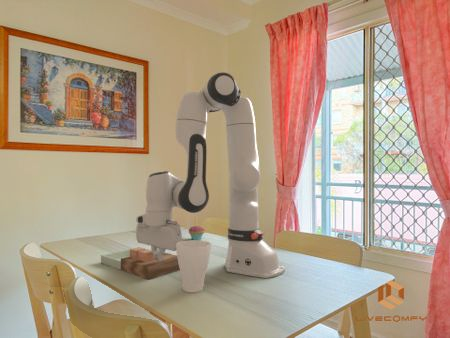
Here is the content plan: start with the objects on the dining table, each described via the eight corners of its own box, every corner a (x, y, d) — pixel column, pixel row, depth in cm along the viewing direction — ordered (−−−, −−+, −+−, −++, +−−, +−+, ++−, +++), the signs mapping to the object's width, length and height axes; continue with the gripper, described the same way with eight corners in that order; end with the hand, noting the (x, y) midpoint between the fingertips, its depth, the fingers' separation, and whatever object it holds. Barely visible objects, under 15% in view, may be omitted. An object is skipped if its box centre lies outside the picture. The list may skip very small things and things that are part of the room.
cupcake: (187, 238, 170) (187, 216, 170) (202, 237, 172) (202, 215, 172) (190, 241, 161) (190, 218, 162) (206, 240, 164) (206, 217, 164)
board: (184, 268, 116) (184, 257, 116) (149, 279, 103) (149, 267, 103) (156, 260, 125) (156, 250, 126) (120, 269, 113) (120, 258, 113)
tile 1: (145, 257, 115) (145, 248, 115) (136, 259, 112) (136, 250, 112) (138, 255, 118) (139, 247, 118) (129, 257, 115) (129, 249, 115)
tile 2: (154, 259, 112) (154, 251, 112) (145, 261, 109) (145, 253, 109) (147, 257, 115) (147, 249, 115) (138, 259, 112) (138, 251, 112)
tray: (156, 260, 125) (156, 253, 126) (120, 269, 113) (120, 261, 113) (136, 255, 134) (136, 248, 134) (100, 263, 121) (101, 255, 121)
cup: (217, 288, 95) (218, 243, 95) (191, 298, 87) (192, 249, 88) (194, 280, 102) (194, 238, 102) (168, 289, 94) (168, 243, 95)
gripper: (187, 221, 104) (186, 263, 104) (147, 215, 117) (147, 253, 117) (172, 223, 99) (171, 267, 99) (133, 217, 112) (132, 256, 112)
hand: (158, 259), depth 108 cm, fingers closed
